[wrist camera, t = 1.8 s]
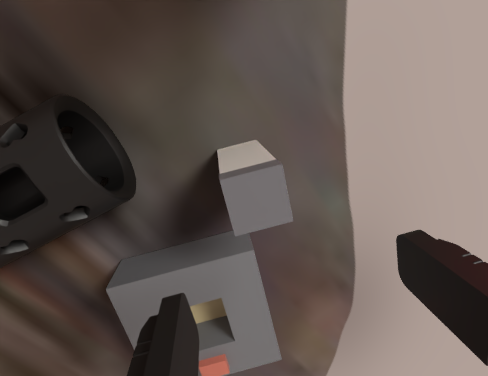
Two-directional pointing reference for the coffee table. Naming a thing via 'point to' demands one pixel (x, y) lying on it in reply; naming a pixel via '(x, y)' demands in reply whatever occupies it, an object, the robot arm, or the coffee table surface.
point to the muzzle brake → (57, 174)
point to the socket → (203, 299)
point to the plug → (253, 187)
